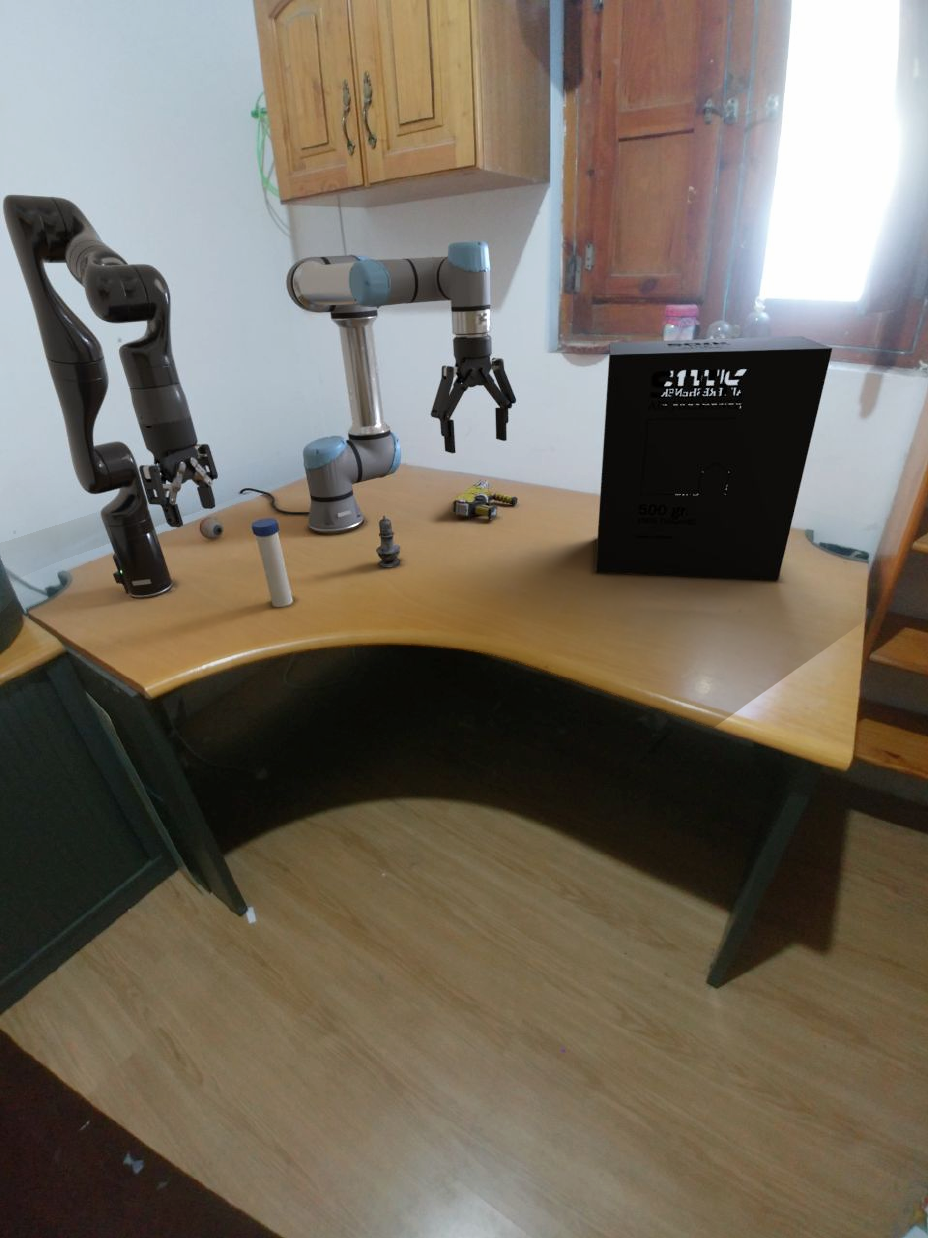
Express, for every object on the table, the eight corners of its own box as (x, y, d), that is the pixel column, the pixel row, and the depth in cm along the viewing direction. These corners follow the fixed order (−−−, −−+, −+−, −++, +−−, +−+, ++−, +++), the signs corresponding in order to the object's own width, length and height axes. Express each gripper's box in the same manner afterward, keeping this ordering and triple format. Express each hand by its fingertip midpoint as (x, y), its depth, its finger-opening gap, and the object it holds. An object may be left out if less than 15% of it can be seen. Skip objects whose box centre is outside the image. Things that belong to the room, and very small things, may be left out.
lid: (259, 527, 125) (257, 518, 124) (283, 526, 124) (281, 517, 123) (249, 536, 120) (246, 527, 119) (273, 536, 120) (271, 527, 119)
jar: (276, 597, 133) (258, 520, 124) (295, 597, 132) (278, 520, 123) (269, 607, 129) (250, 528, 120) (288, 607, 128) (270, 528, 119)
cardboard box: (758, 542, 144) (801, 336, 122) (778, 580, 127) (832, 348, 105) (597, 537, 152) (610, 342, 129) (595, 572, 135) (610, 354, 112)
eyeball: (213, 544, 161) (207, 523, 158) (198, 540, 164) (191, 520, 161) (231, 536, 165) (225, 516, 162) (216, 533, 168) (210, 512, 165)
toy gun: (525, 484, 182) (478, 477, 186) (503, 508, 162) (451, 499, 166) (524, 500, 184) (477, 492, 188) (502, 525, 164) (450, 516, 168)
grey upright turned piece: (398, 568, 142) (392, 520, 136) (374, 567, 143) (367, 519, 137) (405, 558, 147) (399, 511, 141) (382, 557, 148) (376, 510, 142)
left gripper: (174, 406, 99) (201, 501, 107) (109, 426, 87) (144, 531, 95) (213, 406, 97) (237, 503, 105) (152, 427, 85) (184, 534, 93)
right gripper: (429, 342, 108) (437, 460, 118) (533, 329, 120) (532, 437, 131) (407, 340, 113) (417, 454, 124) (508, 328, 125) (510, 432, 136)
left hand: (193, 516), depth 100 cm, fingers open, 8 cm apart
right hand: (476, 445), depth 127 cm, fingers open, 13 cm apart
